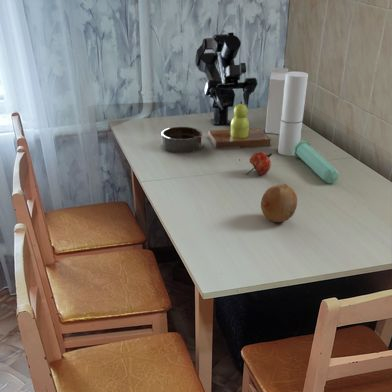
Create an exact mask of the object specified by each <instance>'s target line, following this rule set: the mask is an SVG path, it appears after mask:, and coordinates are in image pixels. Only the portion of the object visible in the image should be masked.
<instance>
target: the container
mask: <svg viewBox="0 0 392 392" xmlns="http://www.w3.org/2000/svg"><path fill="white" fill-rule="evenodd" d="M294 154H295V155H294V156H296V158H298V159H301V160H302V162H304V163H305V164H306V165H307V166H308V167H309V168H310V169H311V171H313V172H314V173H315V174H316V175H317V176H318V177H319V178H320V179H321V180H322V181H324V183H325V184H334V183H335V182H337V180H338V178H339V171H338V170H337V169H336V168H335V167H334V166H333V165H332V164H330V162H329V161H327V160H326V159H325V158H324V157H323V156H322V155H321V154H319V152H317V151H316V150H315V149H314V148H313V147H312V146H311V144H309V142H308V141H307V140H300V142H299V143H298V144H297V145H296V146H295V149H294Z"/></svg>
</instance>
